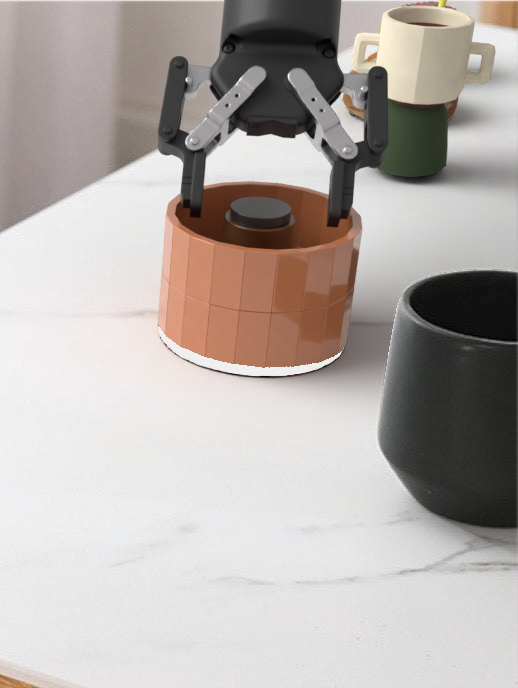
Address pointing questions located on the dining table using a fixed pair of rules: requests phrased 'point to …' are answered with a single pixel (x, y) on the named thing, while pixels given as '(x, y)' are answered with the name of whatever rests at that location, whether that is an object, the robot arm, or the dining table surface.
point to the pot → (258, 281)
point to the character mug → (422, 80)
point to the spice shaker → (259, 224)
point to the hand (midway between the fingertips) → (264, 217)
